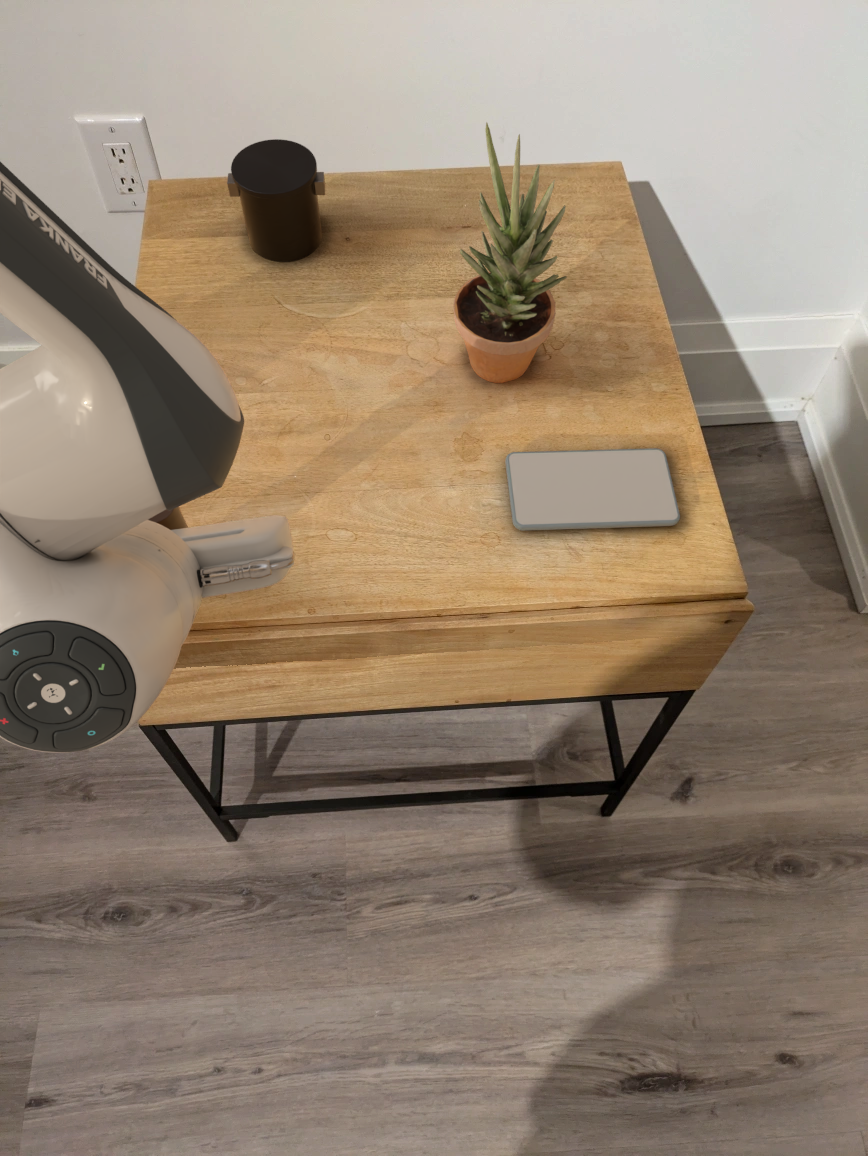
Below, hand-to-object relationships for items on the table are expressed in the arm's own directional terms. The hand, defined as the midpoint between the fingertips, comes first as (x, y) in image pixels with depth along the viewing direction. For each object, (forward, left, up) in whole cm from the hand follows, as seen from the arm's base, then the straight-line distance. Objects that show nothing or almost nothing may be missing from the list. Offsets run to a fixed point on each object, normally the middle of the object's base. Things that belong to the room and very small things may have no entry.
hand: (164, 540), depth 66 cm
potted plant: (+29, +24, -7) cm, 38 cm away
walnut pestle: (0, +1, -7) cm, 7 cm away
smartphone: (+36, +8, -7) cm, 37 cm away
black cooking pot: (+7, +43, -7) cm, 44 cm away
